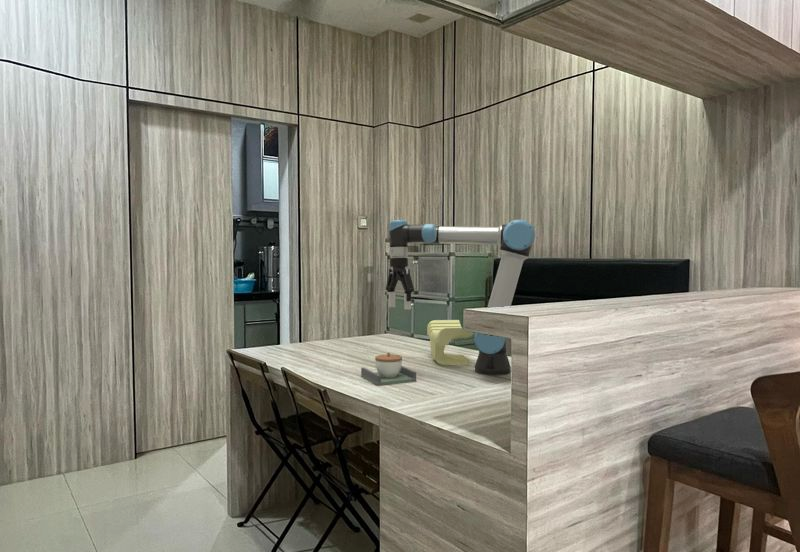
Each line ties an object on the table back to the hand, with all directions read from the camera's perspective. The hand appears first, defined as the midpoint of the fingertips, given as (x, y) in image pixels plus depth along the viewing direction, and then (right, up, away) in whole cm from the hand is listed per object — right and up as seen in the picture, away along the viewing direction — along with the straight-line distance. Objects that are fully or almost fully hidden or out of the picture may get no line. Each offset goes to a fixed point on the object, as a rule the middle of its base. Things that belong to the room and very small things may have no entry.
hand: (399, 308), depth 223 cm
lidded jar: (-4, -27, -10) cm, 29 cm away
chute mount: (-5, -28, -10) cm, 30 cm away
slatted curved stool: (+23, -27, +27) cm, 44 cm away
